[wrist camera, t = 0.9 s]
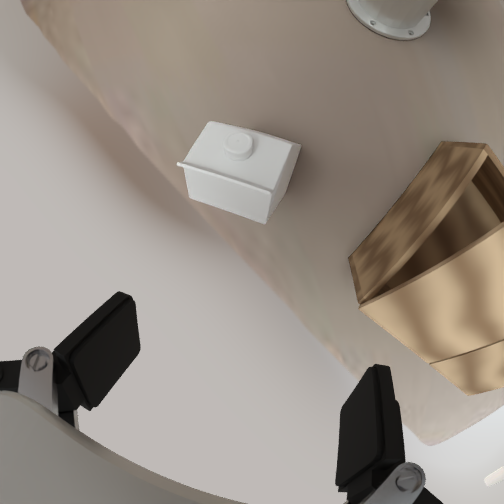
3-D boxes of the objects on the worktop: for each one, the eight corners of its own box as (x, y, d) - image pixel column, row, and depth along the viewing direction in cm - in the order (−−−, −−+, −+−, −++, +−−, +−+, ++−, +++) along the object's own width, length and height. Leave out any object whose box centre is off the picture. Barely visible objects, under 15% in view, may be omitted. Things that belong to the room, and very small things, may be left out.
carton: (441, 141, 29) (486, 143, 18) (525, 260, 30) (561, 292, 19) (348, 258, 38) (357, 302, 27) (448, 346, 39) (468, 392, 28)
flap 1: (548, 186, 9) (551, 190, 8) (582, 293, 9) (583, 297, 9) (359, 305, 27) (358, 308, 27) (428, 359, 27) (427, 363, 27)
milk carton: (285, 194, 37) (254, 240, 20) (236, 177, 37) (166, 208, 20) (302, 145, 34) (287, 143, 17) (250, 128, 34) (188, 116, 17)
